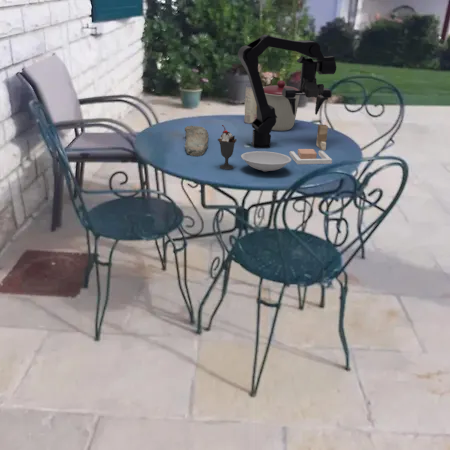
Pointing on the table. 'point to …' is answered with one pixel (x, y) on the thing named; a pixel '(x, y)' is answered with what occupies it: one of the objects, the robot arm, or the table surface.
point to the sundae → (226, 147)
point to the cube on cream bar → (322, 136)
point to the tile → (307, 154)
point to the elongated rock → (196, 140)
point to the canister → (281, 106)
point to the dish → (265, 160)
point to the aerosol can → (250, 105)
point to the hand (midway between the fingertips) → (305, 114)
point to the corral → (324, 160)
